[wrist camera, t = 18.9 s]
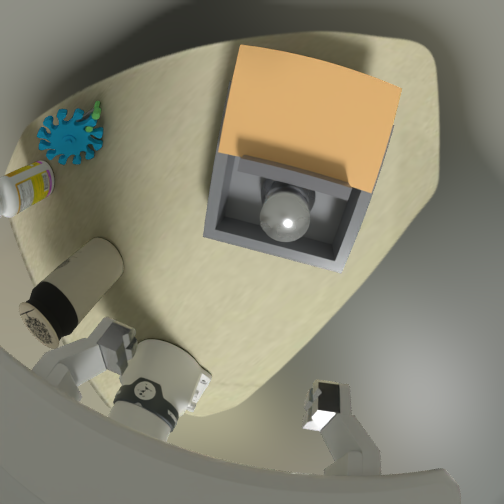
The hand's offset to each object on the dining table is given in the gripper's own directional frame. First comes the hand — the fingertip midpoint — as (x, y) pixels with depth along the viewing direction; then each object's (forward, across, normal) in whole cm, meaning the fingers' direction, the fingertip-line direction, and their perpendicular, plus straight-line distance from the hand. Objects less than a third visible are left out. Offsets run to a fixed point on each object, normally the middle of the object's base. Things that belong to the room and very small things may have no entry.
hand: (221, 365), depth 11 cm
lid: (+19, -1, -10) cm, 22 cm away
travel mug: (+25, +25, +16) cm, 39 cm away
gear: (+25, +28, -4) cm, 37 cm away
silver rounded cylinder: (+24, -1, -1) cm, 24 cm away
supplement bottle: (+25, +39, +4) cm, 46 cm away
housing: (+25, -1, -3) cm, 25 cm away
